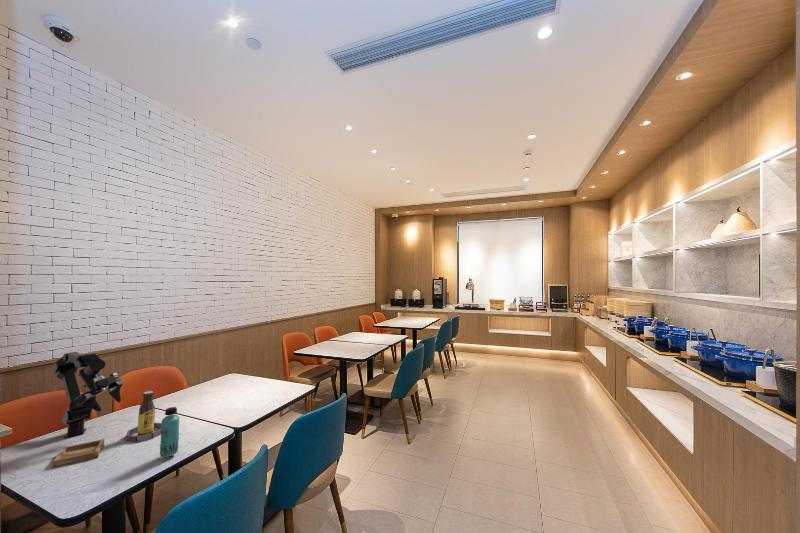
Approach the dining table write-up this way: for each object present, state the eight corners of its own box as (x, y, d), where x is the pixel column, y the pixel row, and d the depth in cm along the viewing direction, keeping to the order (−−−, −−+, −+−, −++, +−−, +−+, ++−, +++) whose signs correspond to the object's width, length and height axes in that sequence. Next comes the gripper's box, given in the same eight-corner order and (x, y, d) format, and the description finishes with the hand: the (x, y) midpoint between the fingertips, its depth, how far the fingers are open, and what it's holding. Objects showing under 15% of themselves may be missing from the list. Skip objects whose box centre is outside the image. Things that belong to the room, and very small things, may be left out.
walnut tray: (63, 453, 135) (63, 447, 135) (104, 444, 142) (104, 438, 142) (52, 468, 124) (53, 461, 124) (97, 457, 132) (98, 451, 132)
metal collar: (128, 432, 153) (128, 427, 154) (164, 425, 161) (164, 420, 162) (124, 445, 142) (124, 439, 142) (163, 436, 150) (163, 431, 150)
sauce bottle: (144, 438, 148) (146, 395, 149) (133, 437, 149) (135, 394, 150) (157, 432, 154) (159, 390, 155) (147, 430, 155) (148, 389, 156)
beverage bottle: (165, 452, 136) (167, 405, 137) (182, 452, 136) (183, 404, 137) (155, 461, 129) (157, 411, 130) (172, 460, 130) (174, 411, 131)
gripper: (83, 376, 138) (103, 406, 138) (123, 363, 157) (141, 389, 157) (64, 390, 139) (84, 420, 139) (107, 375, 158) (124, 401, 157)
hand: (110, 406), depth 148 cm, fingers open, 9 cm apart
